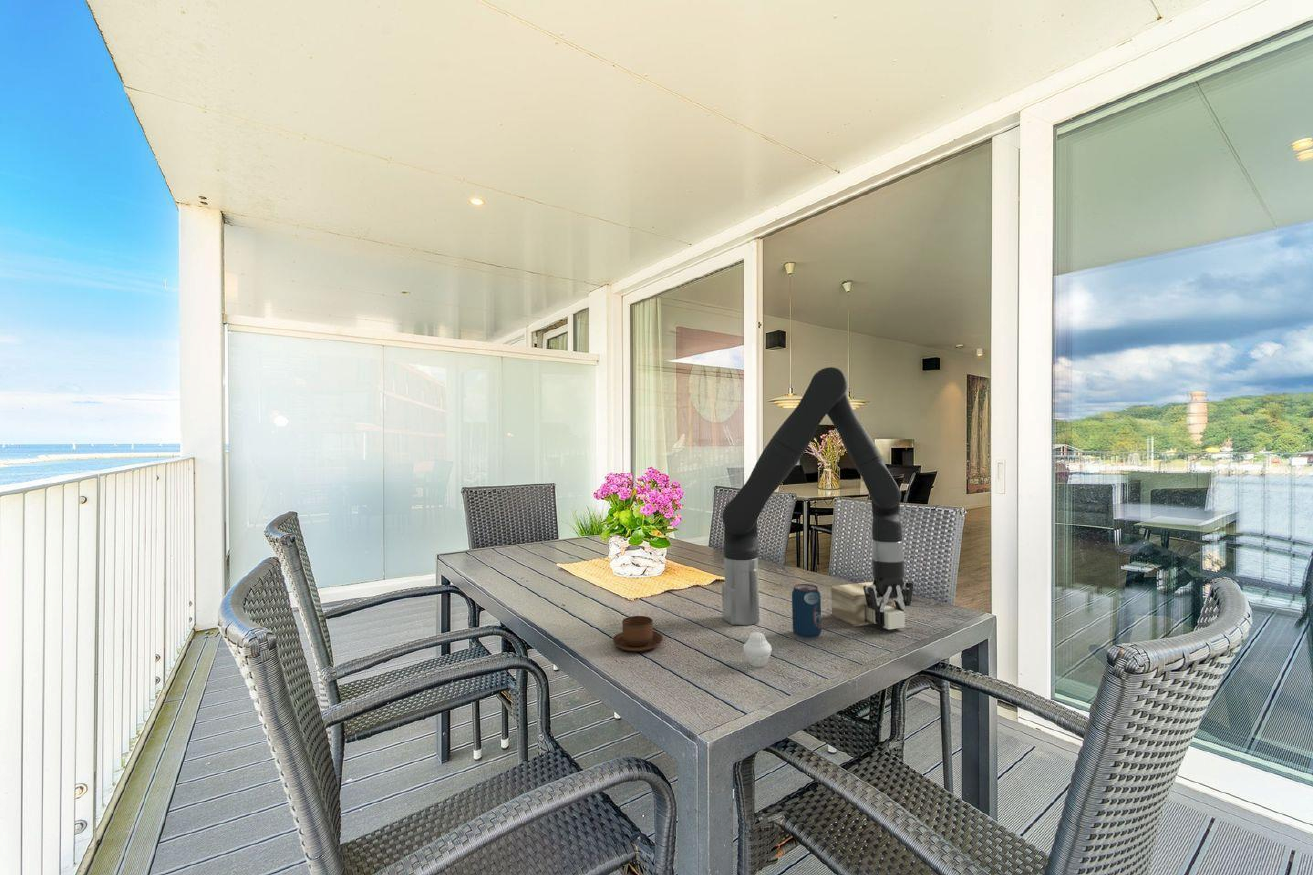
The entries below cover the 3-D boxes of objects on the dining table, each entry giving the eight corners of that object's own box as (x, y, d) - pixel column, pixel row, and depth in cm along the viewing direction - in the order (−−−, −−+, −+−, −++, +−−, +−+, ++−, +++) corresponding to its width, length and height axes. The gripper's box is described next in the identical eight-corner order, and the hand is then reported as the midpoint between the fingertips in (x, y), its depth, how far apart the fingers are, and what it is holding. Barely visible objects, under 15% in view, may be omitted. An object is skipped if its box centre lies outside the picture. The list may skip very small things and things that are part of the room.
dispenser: (857, 627, 137) (856, 596, 138) (831, 615, 148) (831, 586, 148) (901, 621, 141) (900, 590, 142) (873, 609, 152) (873, 581, 152)
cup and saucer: (606, 642, 131) (606, 617, 131) (651, 634, 136) (650, 610, 136) (622, 659, 120) (622, 632, 120) (670, 650, 125) (670, 624, 125)
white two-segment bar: (888, 629, 133) (888, 614, 133) (851, 612, 147) (850, 598, 147) (905, 627, 134) (904, 611, 134) (866, 610, 148) (866, 596, 148)
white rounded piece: (753, 672, 112) (753, 638, 112) (738, 661, 117) (737, 629, 117) (778, 666, 114) (777, 634, 114) (761, 656, 120) (760, 625, 120)
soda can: (823, 640, 129) (821, 590, 129) (793, 639, 130) (792, 590, 130) (820, 630, 136) (818, 583, 136) (792, 629, 137) (790, 582, 137)
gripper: (899, 553, 142) (901, 616, 142) (854, 557, 138) (856, 623, 137) (921, 558, 135) (923, 625, 134) (874, 563, 131) (876, 632, 130)
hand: (889, 624), depth 136 cm, fingers closed on white two-segment bar, 5 cm apart
